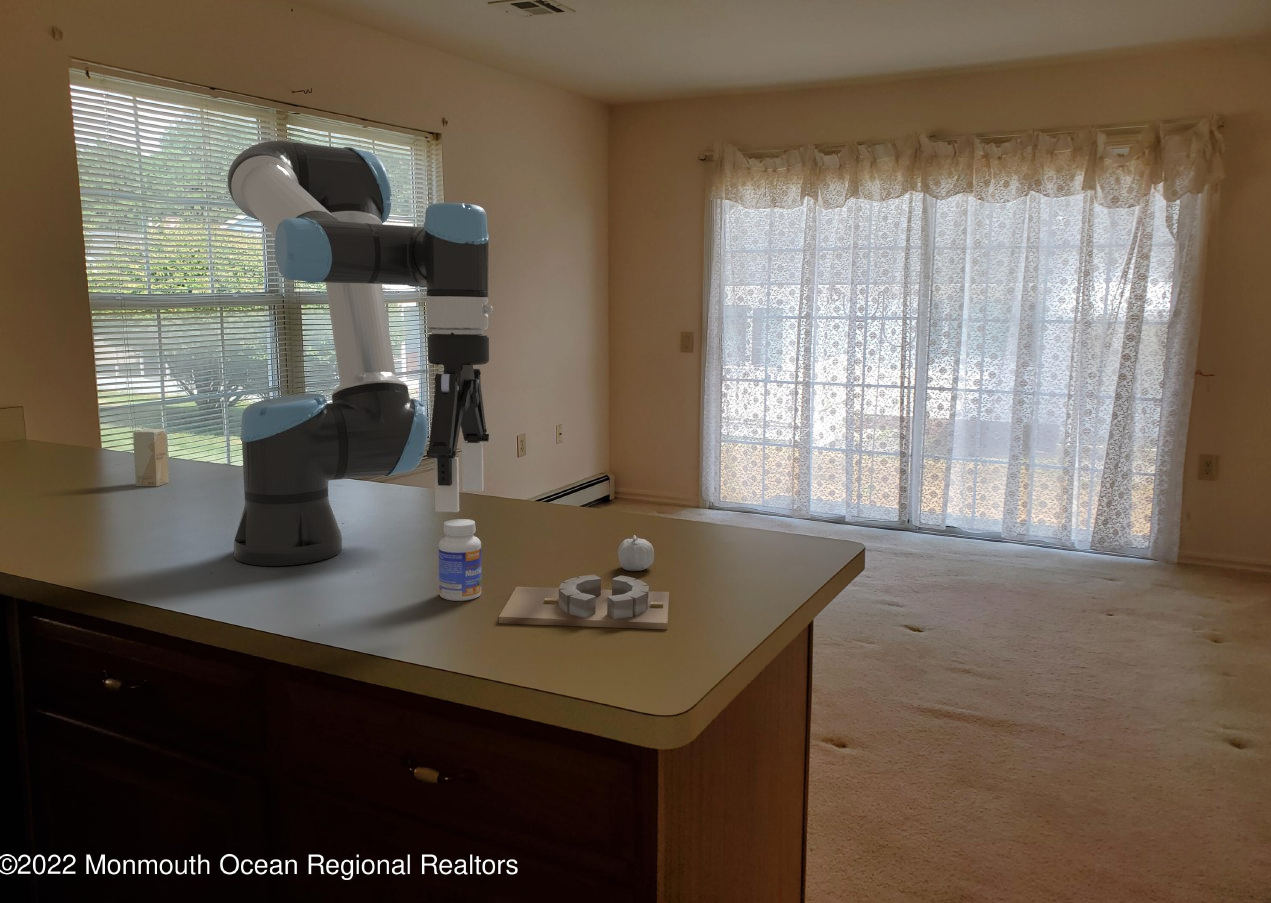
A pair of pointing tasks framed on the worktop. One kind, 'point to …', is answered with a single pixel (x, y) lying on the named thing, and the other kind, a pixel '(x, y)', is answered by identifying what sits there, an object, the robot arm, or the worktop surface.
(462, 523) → the pill bottle
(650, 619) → the socket board
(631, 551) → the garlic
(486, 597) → the worktop surface
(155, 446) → the box
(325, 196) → the robot arm
